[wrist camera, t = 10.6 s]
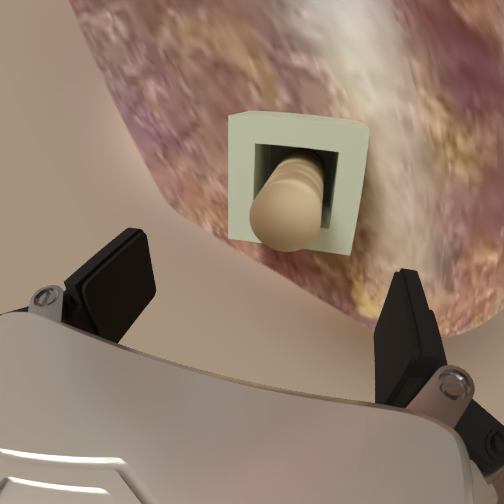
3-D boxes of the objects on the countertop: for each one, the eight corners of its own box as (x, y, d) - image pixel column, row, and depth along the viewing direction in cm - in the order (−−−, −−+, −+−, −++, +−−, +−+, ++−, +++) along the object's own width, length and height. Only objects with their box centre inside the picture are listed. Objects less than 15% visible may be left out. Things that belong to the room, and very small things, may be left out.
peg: (326, 150, 26) (325, 190, 15) (321, 192, 28) (315, 256, 17) (282, 145, 26) (250, 181, 16) (279, 186, 28) (248, 246, 18)
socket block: (359, 121, 24) (370, 128, 19) (346, 221, 29) (350, 255, 24) (251, 110, 26) (228, 115, 20) (249, 208, 31) (228, 238, 25)
